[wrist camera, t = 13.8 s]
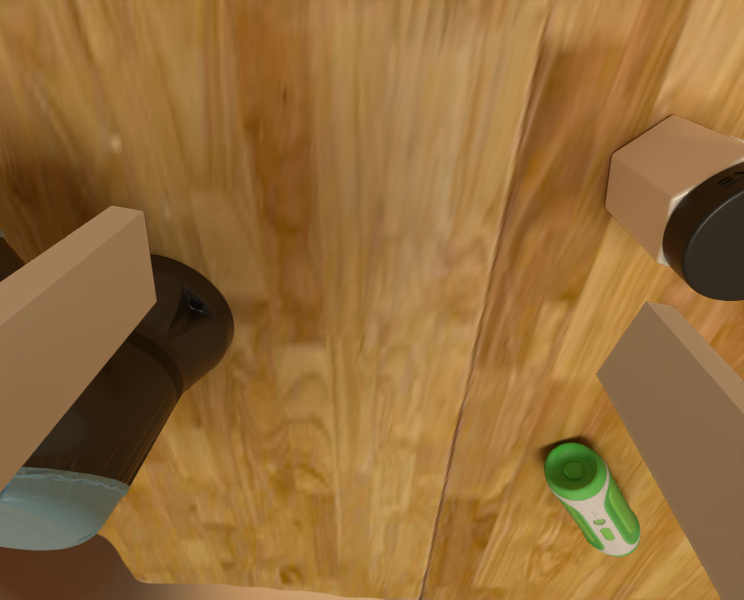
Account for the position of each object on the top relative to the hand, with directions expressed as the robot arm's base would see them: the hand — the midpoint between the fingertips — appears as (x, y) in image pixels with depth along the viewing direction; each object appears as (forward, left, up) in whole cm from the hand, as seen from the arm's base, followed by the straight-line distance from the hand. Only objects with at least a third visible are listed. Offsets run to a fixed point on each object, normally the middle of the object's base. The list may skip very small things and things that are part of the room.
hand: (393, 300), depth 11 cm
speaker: (+36, -39, -26) cm, 59 cm away
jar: (+21, 0, -26) cm, 33 cm away
